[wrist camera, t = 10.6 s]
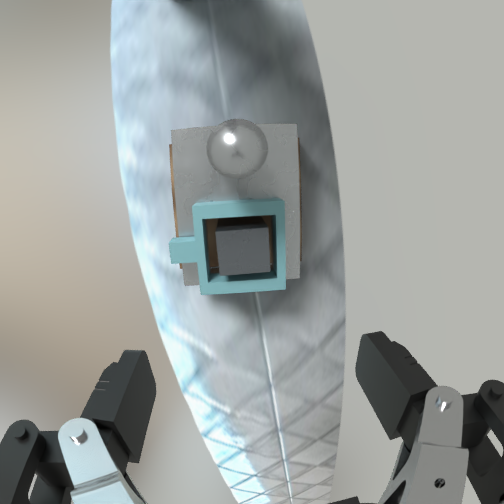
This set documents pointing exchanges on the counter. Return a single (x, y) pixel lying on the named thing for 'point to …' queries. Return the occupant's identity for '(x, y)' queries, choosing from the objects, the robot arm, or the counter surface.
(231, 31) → the counter surface
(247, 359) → the counter surface
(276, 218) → the bracket head
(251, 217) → the brushed steel block
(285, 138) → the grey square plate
